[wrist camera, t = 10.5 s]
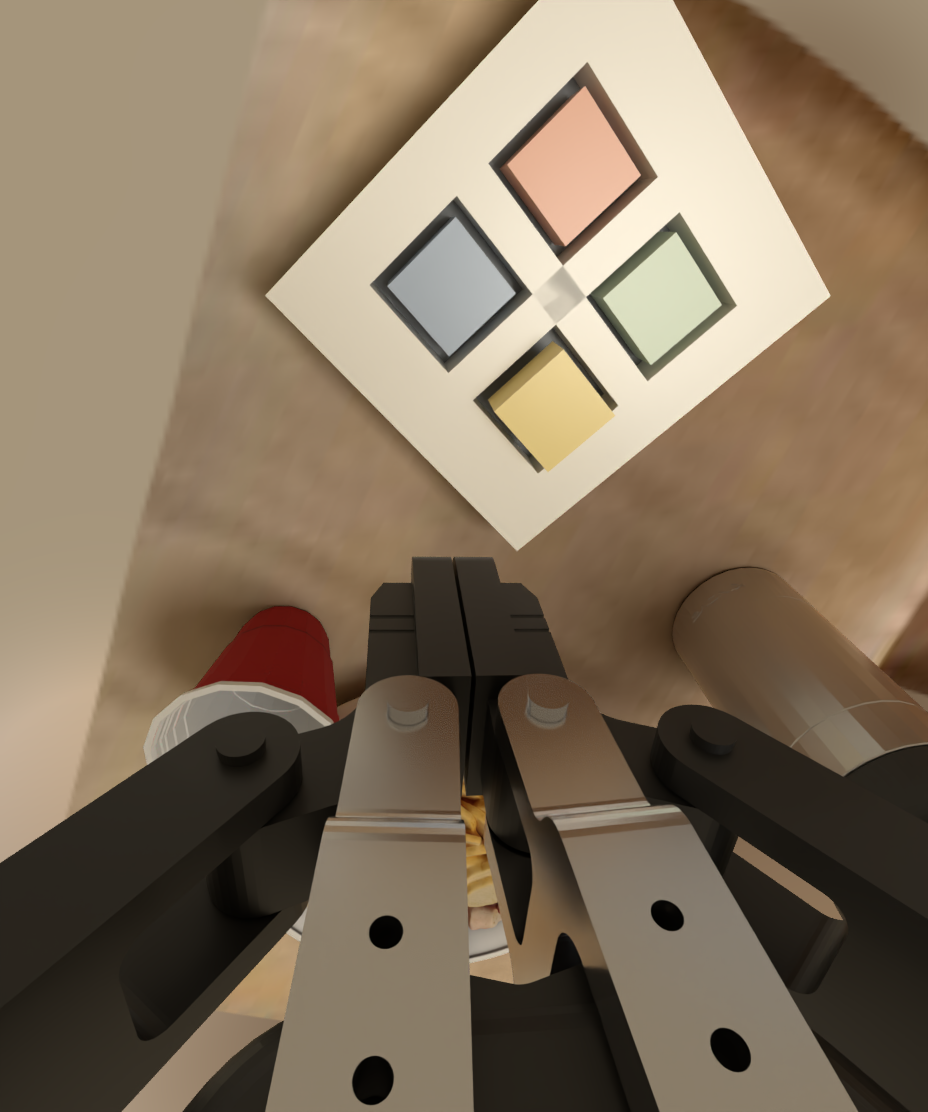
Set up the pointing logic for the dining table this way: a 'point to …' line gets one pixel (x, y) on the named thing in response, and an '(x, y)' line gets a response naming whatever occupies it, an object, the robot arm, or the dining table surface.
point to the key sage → (656, 297)
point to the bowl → (480, 888)
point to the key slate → (451, 286)
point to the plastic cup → (257, 680)
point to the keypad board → (556, 256)
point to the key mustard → (551, 406)
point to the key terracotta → (570, 169)
